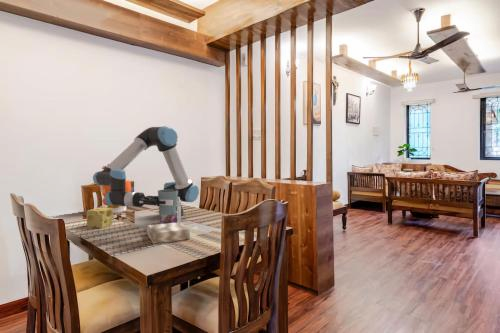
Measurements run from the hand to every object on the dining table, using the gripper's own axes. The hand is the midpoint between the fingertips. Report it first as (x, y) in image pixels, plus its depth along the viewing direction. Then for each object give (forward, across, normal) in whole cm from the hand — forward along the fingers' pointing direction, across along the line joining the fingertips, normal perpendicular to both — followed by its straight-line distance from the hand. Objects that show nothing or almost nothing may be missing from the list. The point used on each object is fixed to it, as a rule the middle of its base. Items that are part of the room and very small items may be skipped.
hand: (176, 201), depth 160 cm
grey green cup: (-4, 0, -7) cm, 8 cm away
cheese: (-53, -15, -19) cm, 58 cm away
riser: (-4, 0, -19) cm, 19 cm away
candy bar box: (-10, -19, -19) cm, 29 cm away
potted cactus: (-68, -58, -19) cm, 92 cm away
